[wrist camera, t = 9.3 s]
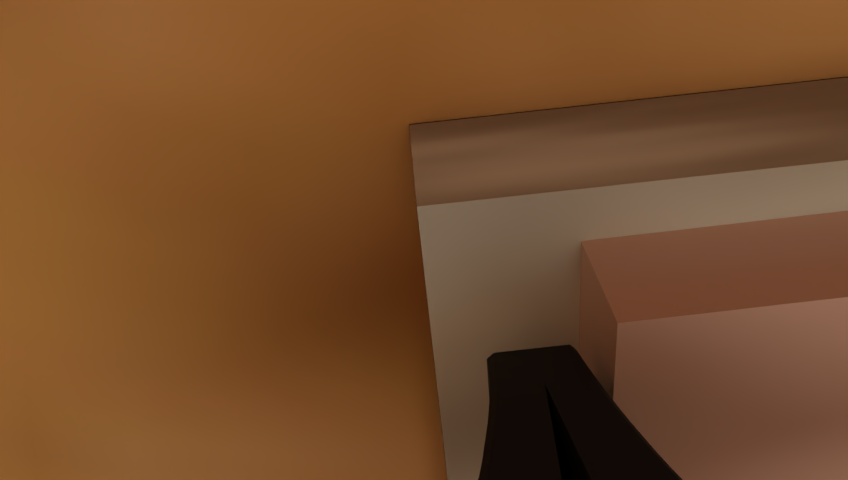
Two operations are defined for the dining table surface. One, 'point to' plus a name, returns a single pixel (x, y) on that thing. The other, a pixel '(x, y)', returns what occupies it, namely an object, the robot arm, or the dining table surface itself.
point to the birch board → (594, 210)
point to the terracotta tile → (726, 344)
